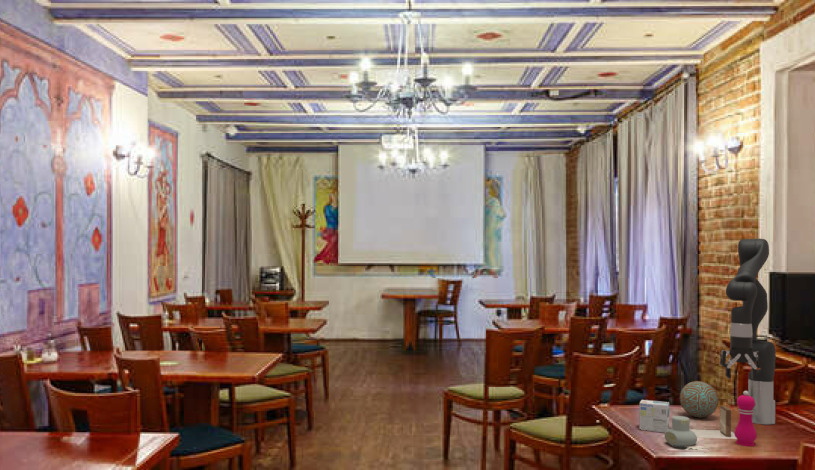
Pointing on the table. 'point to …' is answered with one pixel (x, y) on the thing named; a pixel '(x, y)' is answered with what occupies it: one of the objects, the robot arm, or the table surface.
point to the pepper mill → (745, 421)
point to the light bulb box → (654, 416)
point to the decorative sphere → (699, 399)
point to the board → (712, 434)
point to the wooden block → (725, 421)
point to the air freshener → (680, 433)
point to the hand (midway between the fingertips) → (740, 378)
